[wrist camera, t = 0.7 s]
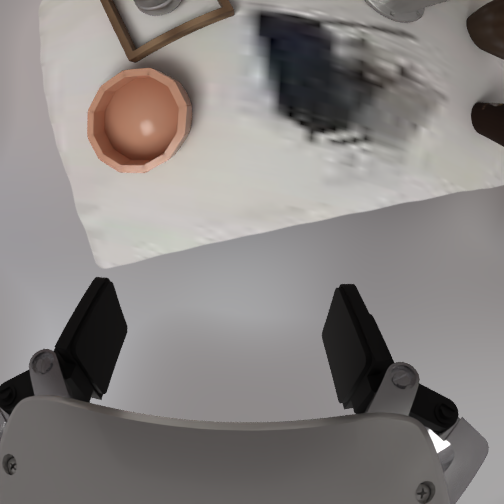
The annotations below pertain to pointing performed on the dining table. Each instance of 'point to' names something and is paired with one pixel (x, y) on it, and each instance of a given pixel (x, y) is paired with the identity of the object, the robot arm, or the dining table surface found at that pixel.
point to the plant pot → (488, 28)
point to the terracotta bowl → (139, 120)
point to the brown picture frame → (167, 37)
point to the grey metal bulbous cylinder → (156, 6)
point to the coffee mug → (489, 120)
